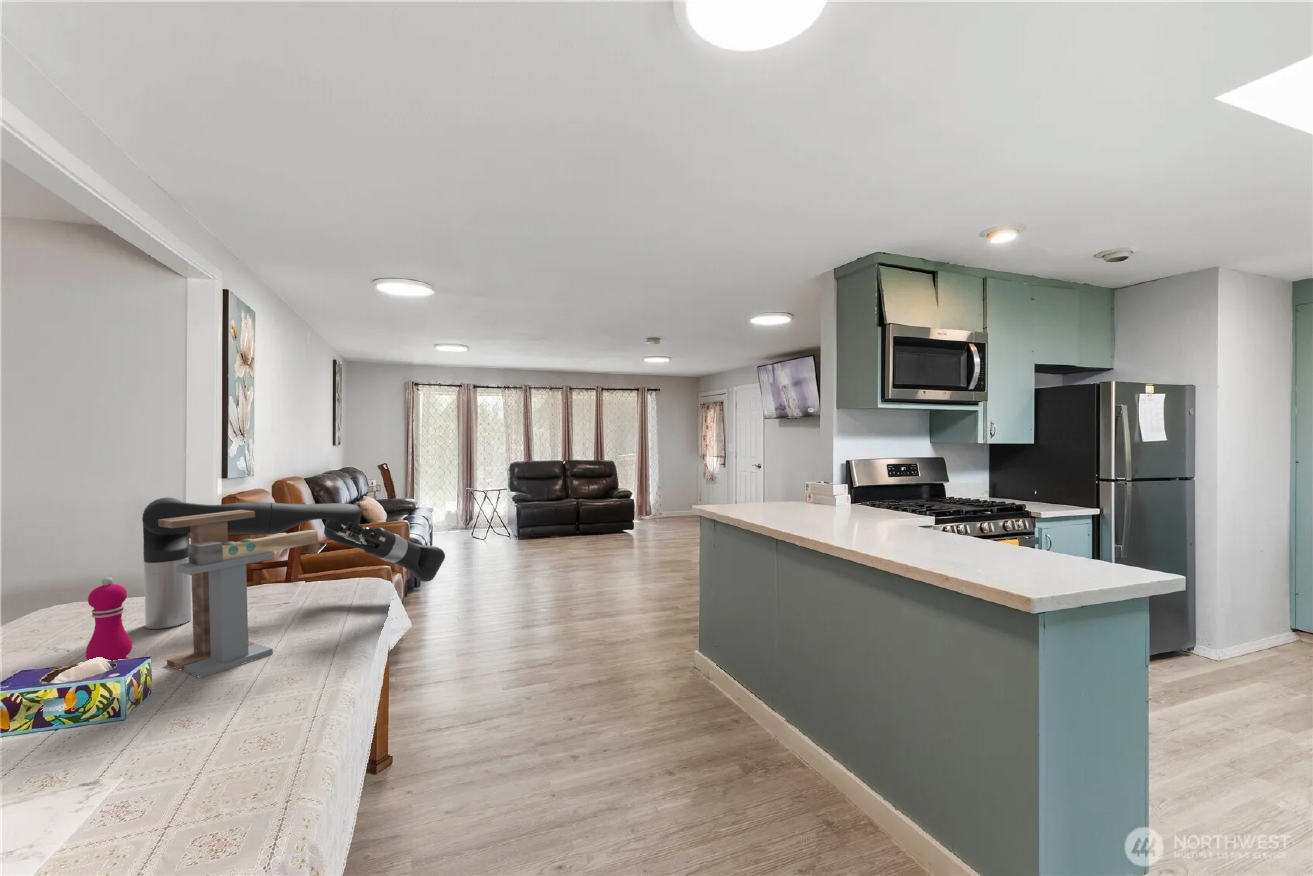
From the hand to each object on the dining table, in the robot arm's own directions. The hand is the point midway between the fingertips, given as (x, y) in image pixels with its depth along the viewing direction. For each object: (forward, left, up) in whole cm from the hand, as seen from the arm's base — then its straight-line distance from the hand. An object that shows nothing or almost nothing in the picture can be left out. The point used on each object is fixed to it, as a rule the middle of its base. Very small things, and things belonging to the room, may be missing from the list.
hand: (337, 524), depth 146 cm
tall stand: (-8, -25, -26) cm, 37 cm away
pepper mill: (-19, -39, -27) cm, 51 cm away
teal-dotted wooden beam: (0, -18, -3) cm, 19 cm away
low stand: (0, -25, -26) cm, 36 cm away
